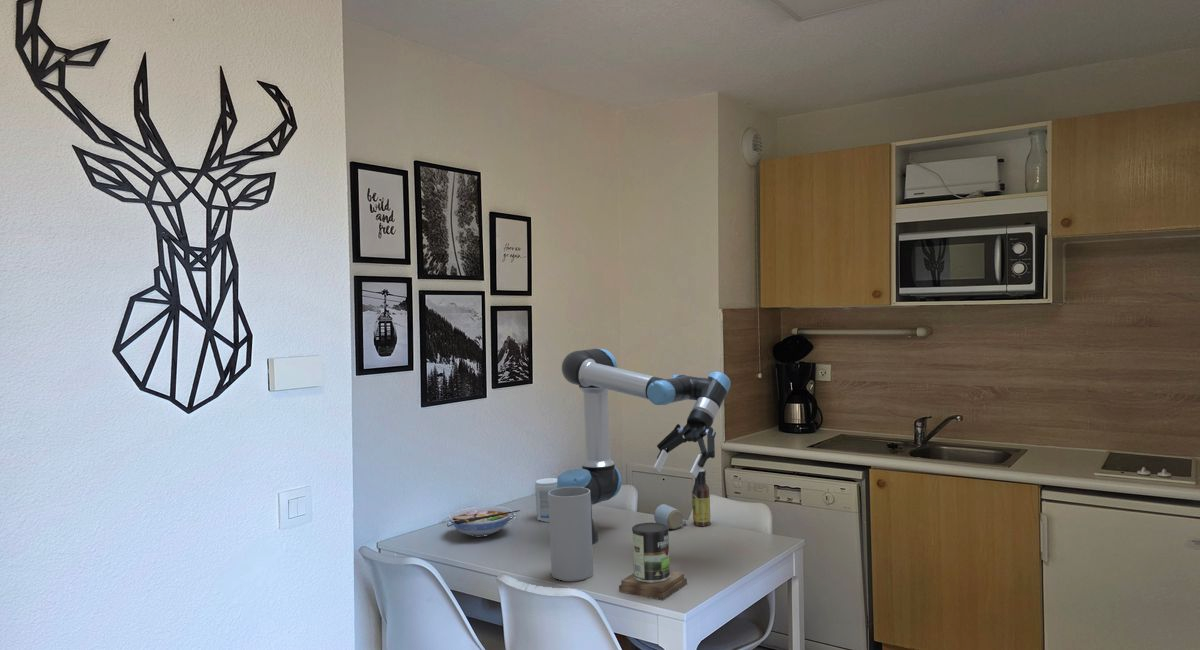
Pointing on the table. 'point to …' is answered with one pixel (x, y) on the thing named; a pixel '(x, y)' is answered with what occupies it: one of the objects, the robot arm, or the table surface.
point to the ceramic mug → (668, 516)
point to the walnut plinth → (653, 586)
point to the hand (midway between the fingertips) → (674, 472)
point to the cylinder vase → (570, 533)
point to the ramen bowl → (480, 519)
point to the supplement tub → (544, 497)
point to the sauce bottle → (701, 500)
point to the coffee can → (651, 552)
